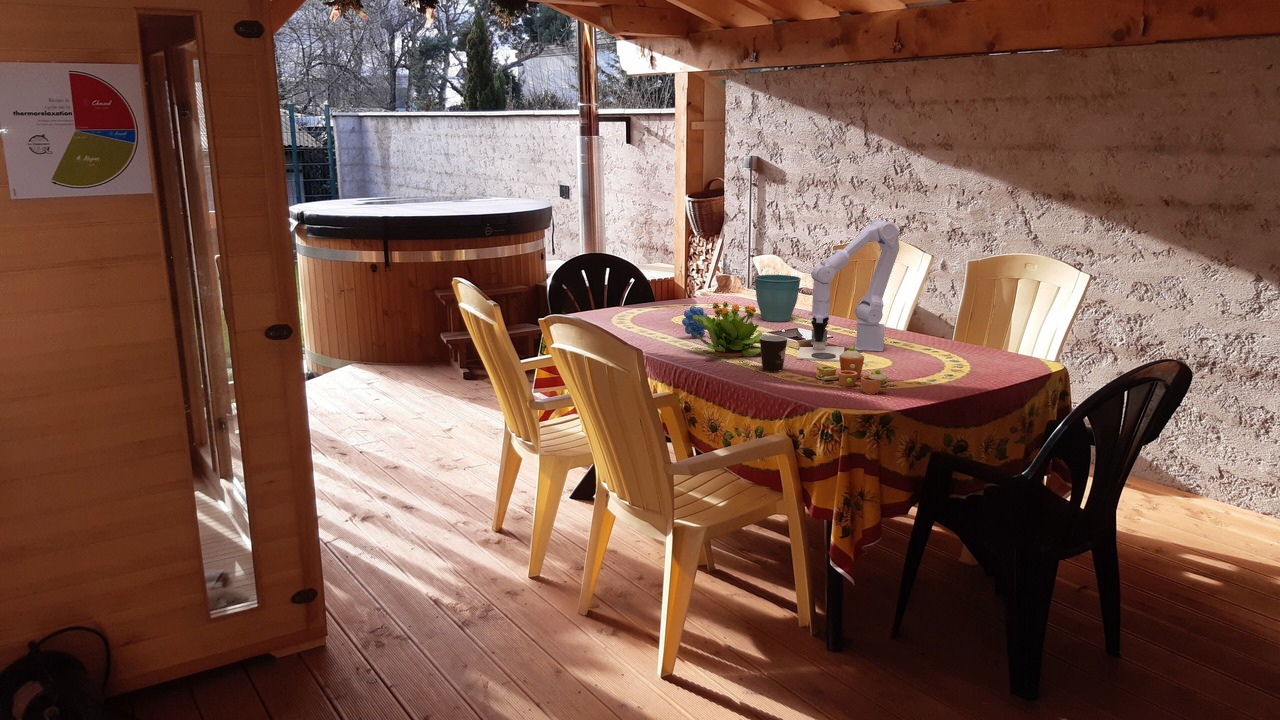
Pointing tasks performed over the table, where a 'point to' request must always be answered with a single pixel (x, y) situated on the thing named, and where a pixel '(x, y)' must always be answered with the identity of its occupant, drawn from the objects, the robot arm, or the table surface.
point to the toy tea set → (853, 372)
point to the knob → (823, 336)
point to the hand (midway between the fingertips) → (819, 339)
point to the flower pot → (776, 296)
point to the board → (820, 352)
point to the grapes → (694, 322)
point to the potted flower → (731, 332)
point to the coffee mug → (773, 352)
